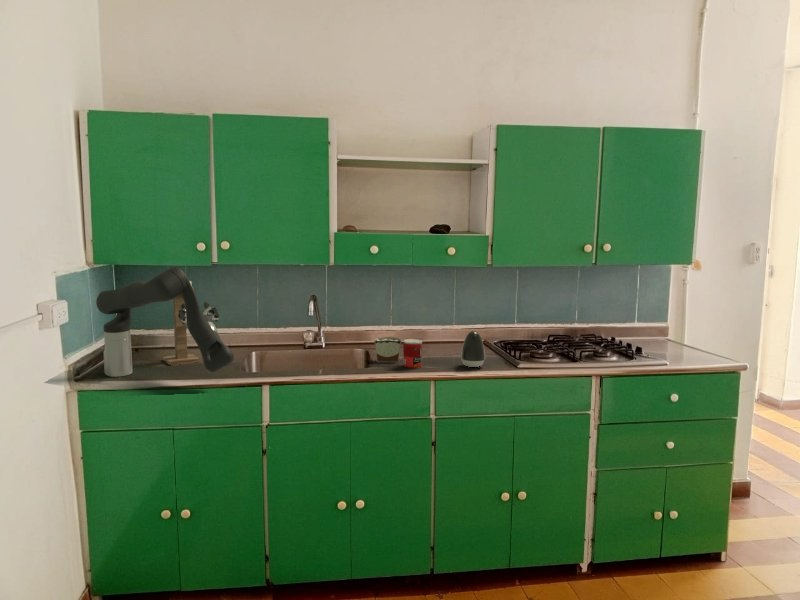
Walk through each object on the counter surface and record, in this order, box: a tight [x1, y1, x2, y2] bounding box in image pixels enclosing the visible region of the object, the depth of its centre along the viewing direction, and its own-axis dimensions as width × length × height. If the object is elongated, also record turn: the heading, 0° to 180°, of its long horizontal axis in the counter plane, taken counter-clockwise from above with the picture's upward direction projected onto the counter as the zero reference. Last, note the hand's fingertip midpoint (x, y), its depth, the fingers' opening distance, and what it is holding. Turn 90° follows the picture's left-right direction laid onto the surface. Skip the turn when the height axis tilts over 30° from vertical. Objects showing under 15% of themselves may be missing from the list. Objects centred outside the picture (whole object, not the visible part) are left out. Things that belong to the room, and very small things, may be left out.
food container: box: [373, 336, 403, 363], centre depth 250 cm, size 12×6×10 cm, turn 92°
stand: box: [163, 286, 201, 367], centre depth 244 cm, size 12×12×32 cm
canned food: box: [402, 338, 423, 369], centre depth 240 cm, size 8×8×11 cm
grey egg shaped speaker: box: [460, 330, 486, 368], centre depth 240 cm, size 10×10×15 cm
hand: (193, 304), depth 225 cm, fingers open, 8 cm apart
